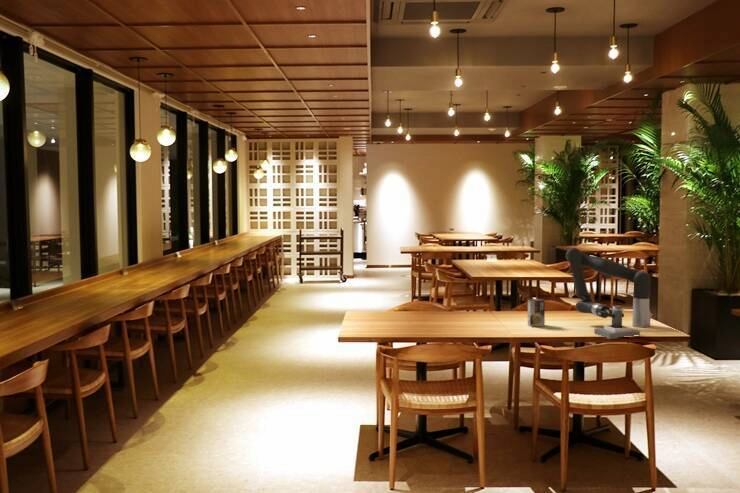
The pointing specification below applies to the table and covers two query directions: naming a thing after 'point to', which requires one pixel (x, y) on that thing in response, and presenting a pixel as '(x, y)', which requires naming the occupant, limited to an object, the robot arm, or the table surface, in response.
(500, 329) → the table surface
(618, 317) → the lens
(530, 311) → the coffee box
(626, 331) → the grey flat block
